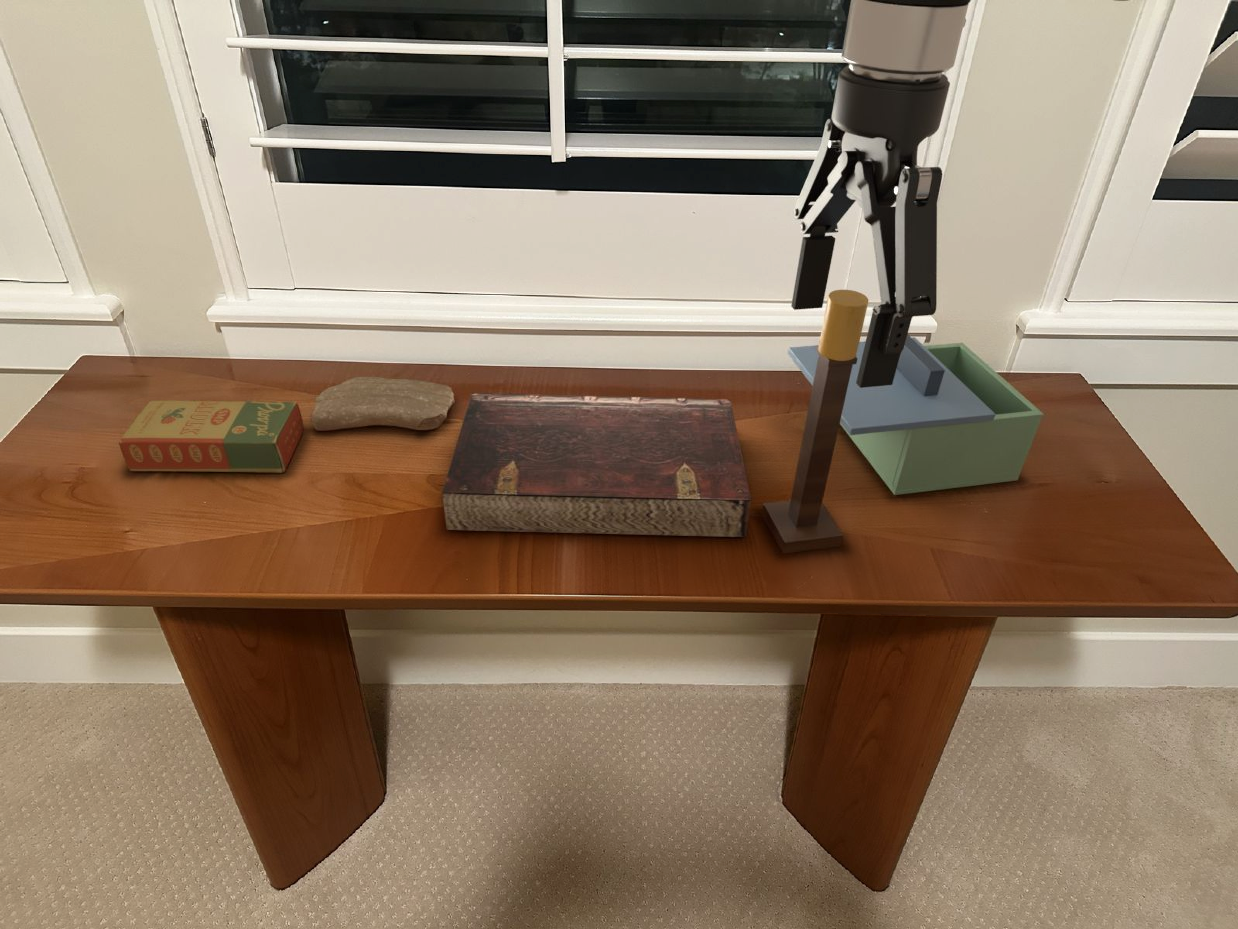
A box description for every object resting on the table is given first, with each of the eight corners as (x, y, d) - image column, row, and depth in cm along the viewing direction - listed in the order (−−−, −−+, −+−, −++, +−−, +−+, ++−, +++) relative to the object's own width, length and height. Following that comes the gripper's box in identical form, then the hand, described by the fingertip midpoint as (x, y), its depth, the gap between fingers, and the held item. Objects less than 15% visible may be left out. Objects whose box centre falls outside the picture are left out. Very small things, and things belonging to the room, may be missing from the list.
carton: (161, 429, 93) (150, 397, 90) (306, 430, 94) (299, 398, 91) (129, 474, 86) (115, 440, 84) (285, 474, 87) (276, 440, 84)
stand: (840, 546, 80) (886, 366, 68) (782, 554, 79) (818, 372, 67) (816, 508, 85) (854, 332, 73) (761, 514, 84) (790, 338, 72)
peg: (864, 355, 70) (877, 300, 67) (836, 364, 68) (848, 309, 65) (837, 339, 72) (848, 286, 69) (810, 348, 70) (820, 294, 68)
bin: (1017, 480, 90) (1044, 414, 85) (894, 495, 87) (913, 427, 82) (943, 404, 102) (962, 342, 97) (833, 415, 99) (846, 352, 94)
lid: (993, 420, 83) (1005, 388, 81) (850, 435, 80) (857, 402, 78) (913, 343, 96) (921, 313, 94) (787, 353, 93) (792, 323, 91)
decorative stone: (449, 437, 93) (446, 411, 91) (310, 436, 93) (304, 410, 91) (461, 391, 101) (459, 366, 99) (333, 390, 101) (327, 365, 99)
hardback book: (725, 432, 96) (730, 395, 93) (744, 540, 81) (751, 500, 78) (475, 425, 95) (471, 388, 92) (447, 533, 80) (442, 492, 77)
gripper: (1055, 114, 48) (955, 419, 61) (865, 35, 67) (820, 278, 80) (938, 117, 47) (861, 428, 59) (779, 35, 66) (746, 283, 79)
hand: (837, 343), depth 70 cm, fingers open, 13 cm apart
